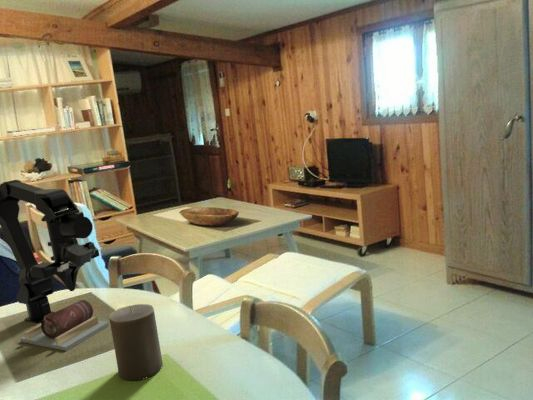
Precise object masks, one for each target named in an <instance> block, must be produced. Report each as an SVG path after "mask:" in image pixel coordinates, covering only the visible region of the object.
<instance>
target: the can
mask: <svg viewBox="0 0 533 400" xmlns="http://www.w3.org/2000/svg"><path fill="white" fill-rule="evenodd" d="M52 312H53V313H50V314H48V315H46V316H45V317H44V319H43V320H42V321H41V322H40V324H41V329H42V331H43V333H44V334H45V335H46V336H47V337H49V338H55V337H58V336H60V335H62V334H63V333H65V332H67V331H69V330H71V329H72V328H74V327H76V326H78V325H80V324H81V323H83V322H85V321H87V320H88V319H90V318H92V317H93V315H94V308H93V305H92V304H91V303H90V302H89V301H87V300H85V299H81V300H78V301H76V302H74V303H72V304H70V305H67V306H65V307H64V308H62V309H59V310H56V311H52Z"/></svg>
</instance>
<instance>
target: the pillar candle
mask: <svg viewBox="0 0 533 400" xmlns="http://www.w3.org/2000/svg"><path fill="white" fill-rule="evenodd" d="M109 326H110V331H111V336H112V337H111V338H112V342H113V348H114V353H115V359H116V364H117V365H116V367H117V372H118V376H119V378H121V379H122V380H124V381H125V380H126V381H139V380H140V381H141V380H144V379H143V378H146V377H148V378H150V377H152V376H154V375H156V374H157V373H159V372H160V371H161V370H162V368H163V367H164V366H163V365H164V363H163V358H162V351H161V345H160V339H159V333H158V326H157V321H156V315H155V308H154V306H153V305H151V304H146V303H145V304H143V303H140V304H139V303H138V304H132V305H128V306H124V307H120V308H117V309H116V310H115V311H113V312H111V314H110V315H109ZM161 367H162V368H161ZM160 369H161V370H160ZM159 370H160V371H159ZM158 371H159V372H158ZM149 376H150V377H149ZM146 379H147V378H146Z"/></svg>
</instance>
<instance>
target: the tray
mask: <svg viewBox="0 0 533 400" xmlns="http://www.w3.org/2000/svg"><path fill="white" fill-rule="evenodd" d="M109 326H110V321H103V320H99V319H98V316H92V317H91V318H90V319H88V320H87V321H85V322H83V323H81V324H80V325H78V326H76V327H74V328H72V329H71V330H69V331H67V332H65V333H63V334H62V335H60V336H58V337H55V338H49V337H47V336H46V335H45V334H44V333H43V331H42V329H41V323H40V324H38V325H36V326H34V327H33V328H30V329H28V330H26V331H24V332H23V333H24V336H22V337H20V343H24V344H30V345H34V346H39V347H40V346H41V347H44V348H51V349H57V350H60V351H65V352H67V351H69V350H71V349H73V348H74V347H75V346H77V345H79V344H81V343H82V342H84V341H85V340H87V339H89V338H91V337H92V336H94V335H95V334H98V333H99V332H101V331H103V330H104V329H106V328H108V327H109Z"/></svg>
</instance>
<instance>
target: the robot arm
mask: <svg viewBox="0 0 533 400" xmlns="http://www.w3.org/2000/svg"><path fill="white" fill-rule="evenodd" d="M20 201H23V202H25V203H29V204H31V205H34V206H35V209H36V210H37V211H38V212H40V213H41V214H43V216H42V217H41V222H45V223H46V228H47V231H48V236H49V237H48V238H49V241H48V242H47V246H48V247H51V250H52V251H51V252H52V256H50V260H51V262H44V261H43V262H42V261H41V262H40V263H38V261H37V259H36V256H35V255H34V252H33V249H32V247H31V245H30V243H29V241H28V239H27V236H26V234H25V232H24V230H23V229H24V228H23V227H22V224H21V223H20V221H19V214H20V205H19V203H20ZM0 228H1V229H2V232H3V234H4V236H5V238H6V241H7V243H8V245H9V247H10V250H11V251H12V254H13V256H14V257H13V258H14V259H15V261H16V264H17V265H18V268H19V275H18V284H19V286H20V288H19V290H18V292H17V293H16V296H15V297H16V299H17V302H18V303H19V304H22V305H23V304H24V305H26V306H25V307H26V310H27V315H28V316H27V317H26V318H24V321H25V322H30V323H37V324H39V323H42V320H43V319H44V317H45V316H46V315H48V314H50V313H53V312H54V311H52V309H51V303H50V301H49V298H48V296H50V295H53V294H54V278H53V276H55V275H56V276H57V277H58V278H59V280H60V281H61V282H62V283H63V284H64V285H65V287H66V288H67V289H68V290H69V292H74V291H75V290H76V283H77V278H78V274H79V270H80V269H81V267H83V266H84V265H85V264H86V263H90V262H91V261H92V259H94V258H97V257H99V256H100V251H99V249H98V247H96V246H95V243H94V242H92V241H88V242H85V243H82V244H79V241H78V239H87V238H88V237H90V236H91V234H92V232H93V222H91V220H90V218H88V217H87V216H84V212H83V211H80V209H79V208H78V206H77V204H76V203H75V202H74V201H73V199H72V198H71V196H70V195H69V194H68V193H67V191H66V190H64V189H62V188H48V189H45V188H41V187H39V186H34V185H32V184H28V183H25V182H22V180H19V179H13V180H9V181H4V182H2V183H0ZM52 261H53V262H52Z"/></svg>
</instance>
